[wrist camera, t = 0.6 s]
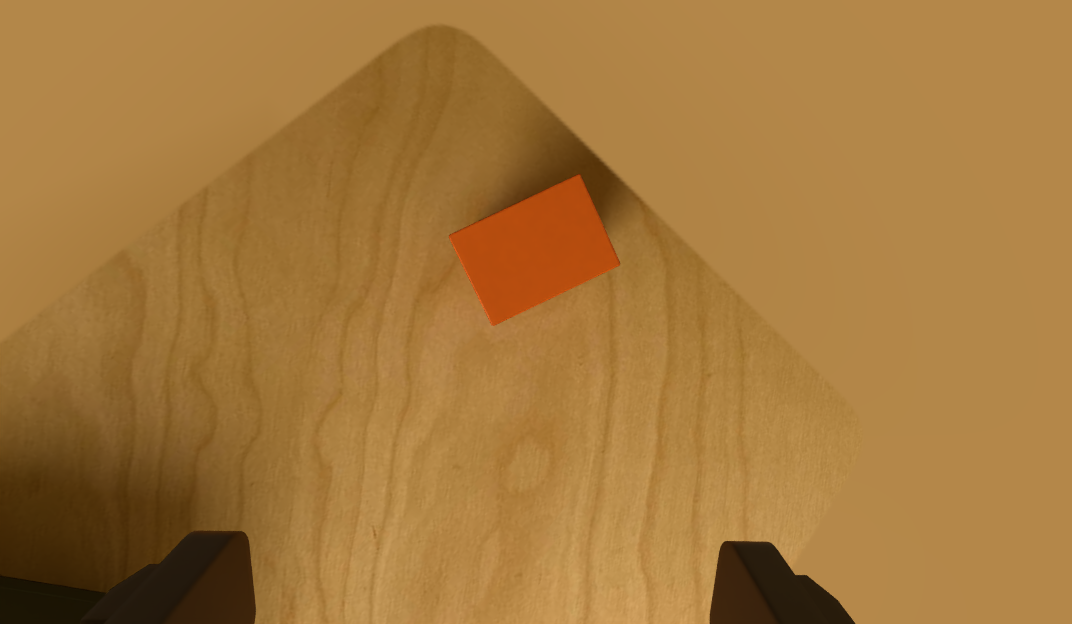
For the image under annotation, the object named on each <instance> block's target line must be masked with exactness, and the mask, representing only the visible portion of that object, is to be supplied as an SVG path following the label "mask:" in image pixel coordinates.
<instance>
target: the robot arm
mask: <svg viewBox="0 0 1072 624" xmlns="http://www.w3.org/2000/svg"><path fill="white" fill-rule="evenodd" d="M255 615H256V605H255V595H254V586H253V576H252V566H251V557H250V547H249V540H248V537H247V535H246V534H245V533H244V532H242V531H193V532H191V533H189V534H188V535H187V536H186V537H184V539H183V540H182V541H181V542H180V543H179V544H178V545H177V546H176V547H175V548H174V549H173V550H172V551H171V552H170V553H169V555H168V556H167V557H166V558H165V559H164V560H163V561H162V562H161V563H160V564H149V565H147V566H146V567H144V568H143V569H141V570H140V571H138V572H137V573H135V574H134V575H132V576H130V577H129V578H127V579H126V580H124V581H123V582H121V583H120V584H118V585H116V586H115V587H113V588H112V589H111V590H110V591H109V592H108V593H107V594H106V595H105V596H104V597H103V598H102V599H101V600H100V601H99V602H98V603H97V604H96V605H95V606H94V607H93V608H92V609H91V610H90V611H89V612H88V613H87V614H86V615H85V616H84V617H83V618H82V619H81V622H80V624H254V622H255ZM710 624H855V622H854V621H853V620H852V618H851V617H850V616H849V615H848V613H847V612H846V611H845V609H844V608H843V607H842V605H841V604H840V603H839V601H838V600H837V599H835V598H834V597H833V596H832V595H830V594H829V593H828V592H827V591H826V590H824V589H823V588H822V587H821V586H819V585H818V584H817V583H815V582H814V581H813V580H812V579H811V578H809V577H808V576H807V575H795V574H794V573H793V571H792V570H791V568H790V567H789V566H788V564H787V563H786V561H785V560H784V558H783V557H782V556H781V554H780V553H779V551H778V550H777V549H776V547H775V546H774V545H773V544H772V543H770V542H750V541H725V542H723V543H722V545H721V548H720V551H719V557H718V564H717V570H716V577H715V584H714V590H713V597H712V603H711V610H710Z"/></svg>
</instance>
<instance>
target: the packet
mask: <svg viewBox="0 0 1072 624" xmlns="http://www.w3.org/2000/svg"><path fill="white" fill-rule="evenodd" d="M449 239H450V241H451V243H452V245H453V247H454V249H455V251H456V253H457V255H458V257H459V259H460V261H461V263H462V265H463V267H464V270H465V272H466V274H467V276H468V278H469V280H470V282H471V284H472V286H473V288H474V290H475V292H476V294H477V296H478V298H479V300H480V302H481V304H482V306H483V308H484V311H485V313H486V315H487V317H488V319H489V321H490V323H491V325H492V326H494V325H497V324H499V323H501V322H503V321H505V320H507V319H509V318H511V317H513V316H515V315H517V314H519V313H522V312H524V311H526V310H528V309H530V308H532V307H534V306H536V305H538V304H540V303H542V302H544V301H547V300H549V299H551V298H553V297H555V296H557V295H559V294H561V293H563V292H565V291H567V290H569V289H572V288H574V287H576V286H578V285H580V284H582V283H584V282H586V281H588V280H590V279H592V278H594V277H597V276H599V275H601V274H603V273H605V272H607V271H609V270H611V269H613V268H615V267H617V266H619V265H620V262H619V259H618V257H617V255H616V253H615V250H614V248H613V246H612V244H611V242H610V239H609V237H608V235H607V233H606V230H605V228H604V226H603V224H602V221H601V219H600V217H599V215H598V213H597V210H596V208H595V206H594V204H593V201H592V199H591V197H590V195H589V192H588V190H587V188H586V186H585V184H584V181H583V179H582V177H581V175H580V174H577V175H575V176H573V177H571V178H569V179H567V180H565V181H563V182H560V183H558V184H556V185H554V186H552V187H550V188H548V189H546V190H543V191H541V192H539V193H537V194H535V195H533V196H531V197H529V198H527V199H524V200H522V201H520V202H518V203H516V204H514V205H512V206H510V207H507V208H505V209H503V210H501V211H499V212H497V213H495V214H493V215H490V216H488V217H486V218H484V219H482V220H480V221H478V222H476V223H474V224H471V225H469V226H467V227H465V228H463V229H461V230H459V231H457V232H454V233H452V234H450V235H449Z"/></svg>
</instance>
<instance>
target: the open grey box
mask: <svg viewBox="0 0 1072 624" xmlns="http://www.w3.org/2000/svg"><path fill="white" fill-rule="evenodd" d="M105 595H106V593H100V592H94V591H88V590H82V589H76V588H70V587H64V586H57V585H51V584H45V583H39V582H33V581H27V580H21V579H15V578H9V577H3V576H0V624H80V622H81V619H82V618H83V617H84V616H85V615H86V614H87V613H88V612H89V611H90V610H91V609H92V608H93V607H94V606H95V605H96V604H97V603H98V602H99V601H100V600H101V599H102V598H103V597H104V596H105Z"/></svg>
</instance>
